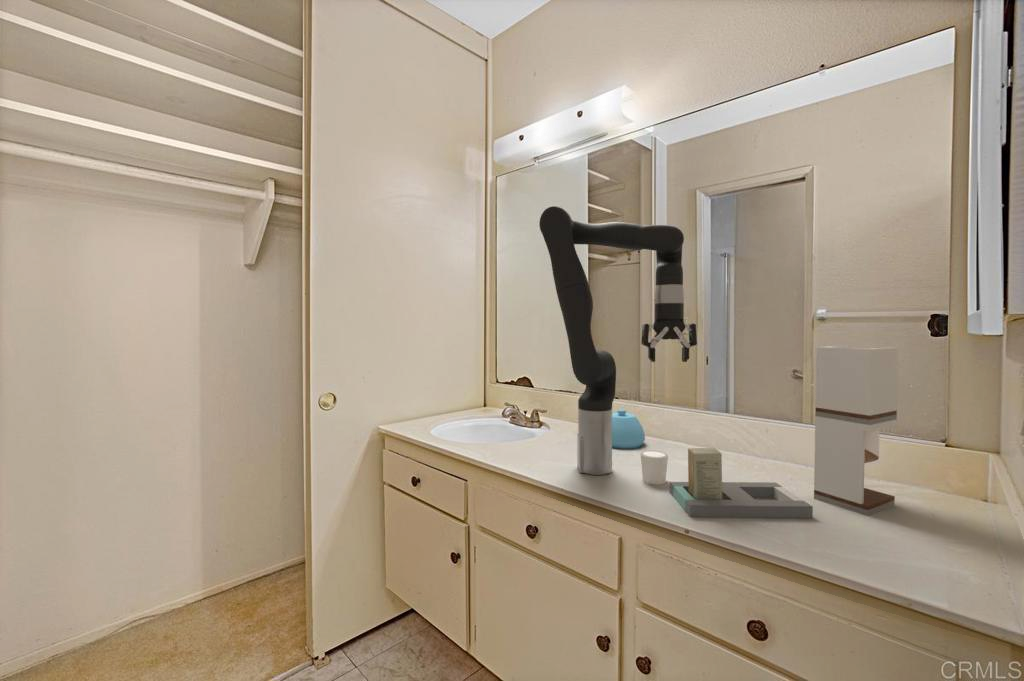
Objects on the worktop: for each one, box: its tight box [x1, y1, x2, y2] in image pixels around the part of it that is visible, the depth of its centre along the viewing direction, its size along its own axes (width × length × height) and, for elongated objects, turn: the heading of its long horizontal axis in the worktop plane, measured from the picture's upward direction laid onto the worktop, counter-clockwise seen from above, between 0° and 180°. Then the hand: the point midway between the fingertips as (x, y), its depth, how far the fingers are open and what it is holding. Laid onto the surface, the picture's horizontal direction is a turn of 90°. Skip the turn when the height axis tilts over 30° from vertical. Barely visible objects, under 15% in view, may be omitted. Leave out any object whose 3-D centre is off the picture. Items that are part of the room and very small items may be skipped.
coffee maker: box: [813, 345, 899, 517], centre depth 101 cm, size 11×11×35 cm
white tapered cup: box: [640, 450, 669, 485], centre depth 116 cm, size 7×7×7 cm
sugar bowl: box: [612, 408, 646, 450], centre depth 152 cm, size 15×15×12 cm
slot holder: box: [668, 481, 814, 519], centre depth 101 cm, size 25×14×2 cm, turn 88°
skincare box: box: [687, 447, 723, 500], centre depth 101 cm, size 6×4×12 cm
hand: (668, 361), depth 123 cm, fingers open, 8 cm apart
